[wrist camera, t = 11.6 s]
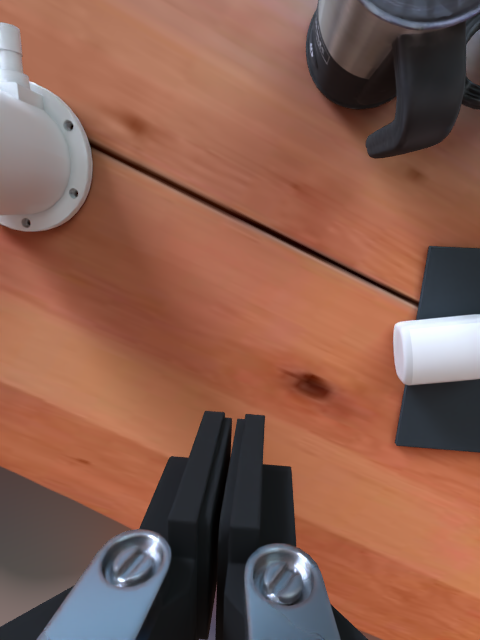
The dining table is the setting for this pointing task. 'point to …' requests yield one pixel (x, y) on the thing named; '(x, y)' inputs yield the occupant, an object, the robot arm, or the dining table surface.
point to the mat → (447, 397)
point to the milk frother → (396, 64)
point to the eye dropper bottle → (437, 349)
